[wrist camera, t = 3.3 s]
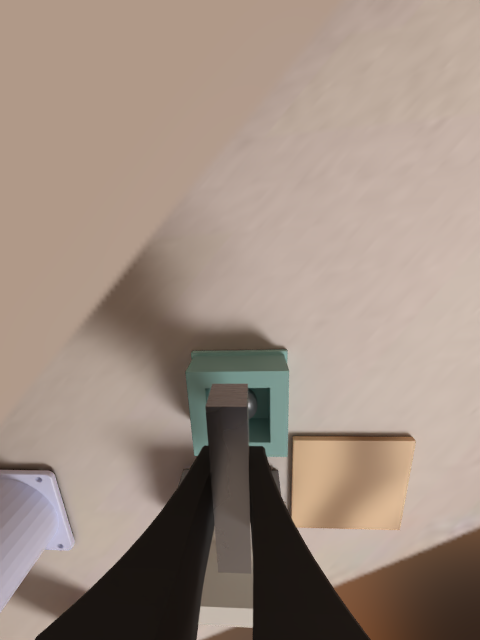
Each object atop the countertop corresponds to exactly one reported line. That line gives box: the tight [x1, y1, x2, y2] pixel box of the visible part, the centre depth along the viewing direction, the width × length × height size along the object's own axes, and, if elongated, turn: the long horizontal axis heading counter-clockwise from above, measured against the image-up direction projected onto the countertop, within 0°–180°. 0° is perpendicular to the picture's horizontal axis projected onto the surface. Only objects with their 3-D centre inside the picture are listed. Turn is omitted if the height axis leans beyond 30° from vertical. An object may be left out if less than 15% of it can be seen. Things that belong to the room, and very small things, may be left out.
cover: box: [198, 502, 286, 628], centre depth 15 cm, size 7×5×4 cm
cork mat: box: [291, 436, 416, 530], centre depth 18 cm, size 8×8×1 cm
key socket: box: [185, 349, 289, 457], centre depth 15 cm, size 6×6×2 cm
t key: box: [205, 384, 257, 574], centre depth 12 cm, size 8×2×6 cm, turn 2°
